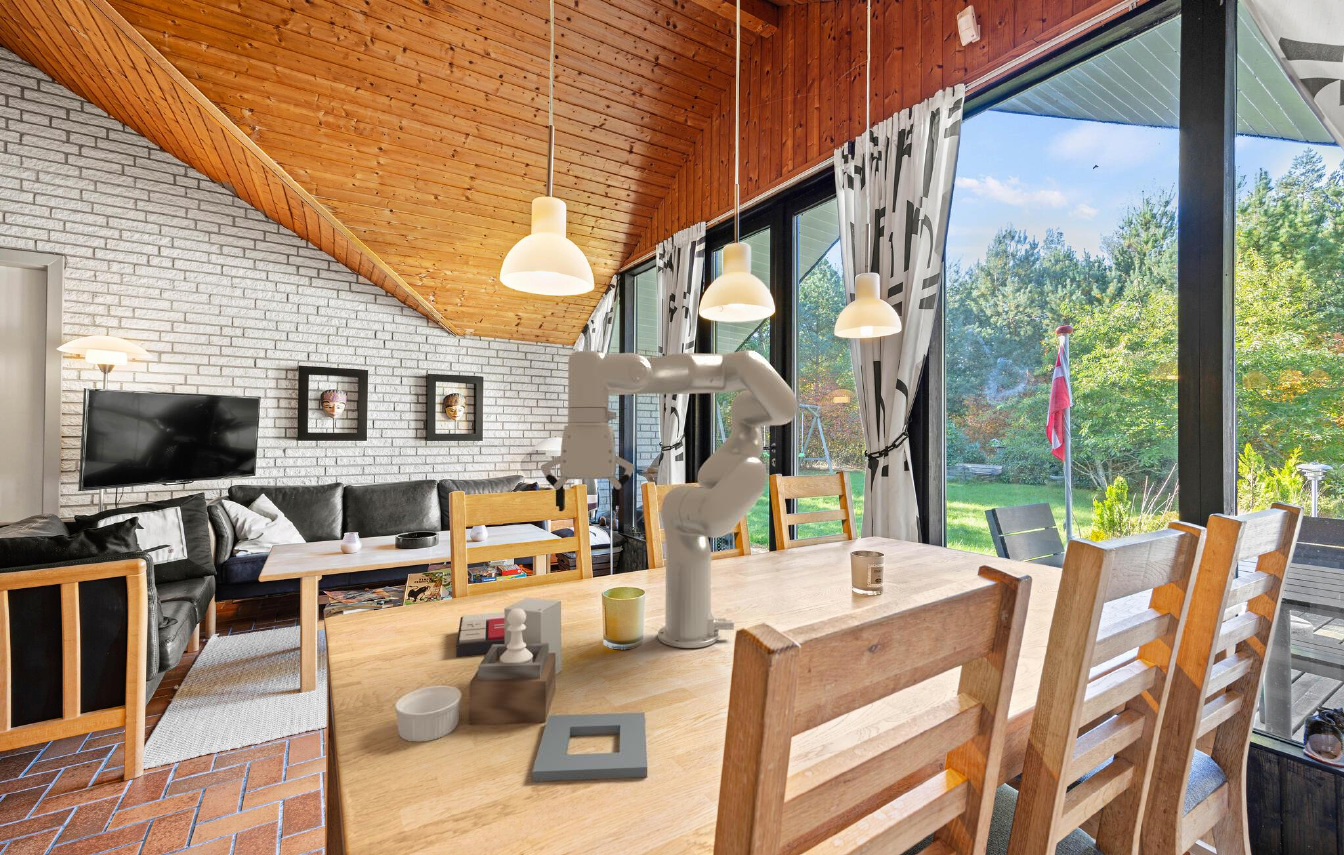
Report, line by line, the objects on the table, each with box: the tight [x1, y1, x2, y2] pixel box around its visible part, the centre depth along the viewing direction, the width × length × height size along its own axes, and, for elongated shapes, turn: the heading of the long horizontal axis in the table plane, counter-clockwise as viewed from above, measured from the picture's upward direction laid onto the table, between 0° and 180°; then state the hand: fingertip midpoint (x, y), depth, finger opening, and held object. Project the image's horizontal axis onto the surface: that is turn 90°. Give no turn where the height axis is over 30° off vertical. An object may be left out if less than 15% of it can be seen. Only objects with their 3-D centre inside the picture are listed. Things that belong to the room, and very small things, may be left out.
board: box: [531, 711, 648, 782], centre depth 77 cm, size 14×14×1 cm
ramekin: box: [394, 685, 463, 742], centre depth 82 cm, size 9×9×4 cm
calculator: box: [455, 611, 505, 658], centre depth 117 cm, size 11×4×15 cm
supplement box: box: [503, 597, 562, 676], centre depth 100 cm, size 7×7×13 cm
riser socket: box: [468, 643, 556, 726], centre depth 89 cm, size 11×11×8 cm
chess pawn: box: [500, 608, 533, 663], centre depth 89 cm, size 5×5×9 cm
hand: (588, 510), depth 106 cm, fingers open, 9 cm apart
